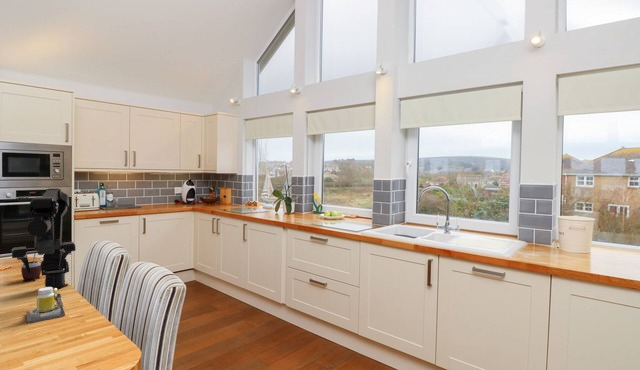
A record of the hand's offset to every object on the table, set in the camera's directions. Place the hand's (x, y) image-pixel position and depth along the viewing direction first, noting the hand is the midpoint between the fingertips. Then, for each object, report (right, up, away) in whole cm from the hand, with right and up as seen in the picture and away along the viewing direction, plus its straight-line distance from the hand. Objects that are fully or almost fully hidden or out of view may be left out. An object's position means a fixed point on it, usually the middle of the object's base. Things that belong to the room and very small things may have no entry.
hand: (45, 271), depth 134 cm
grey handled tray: (+4, -12, -5) cm, 14 cm away
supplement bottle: (+9, -12, -11) cm, 19 cm away
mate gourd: (-27, -11, +27) cm, 40 cm away
